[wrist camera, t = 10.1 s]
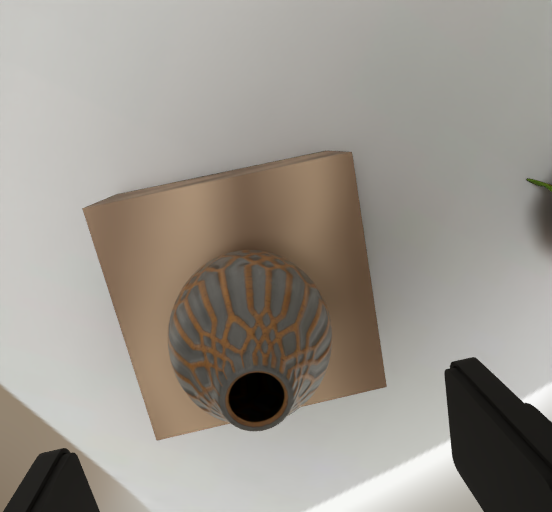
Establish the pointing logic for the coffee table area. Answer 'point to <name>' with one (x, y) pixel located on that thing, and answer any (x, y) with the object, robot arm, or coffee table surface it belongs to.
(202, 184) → the walnut box
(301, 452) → the coffee table surface
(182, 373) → the vase
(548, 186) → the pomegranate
